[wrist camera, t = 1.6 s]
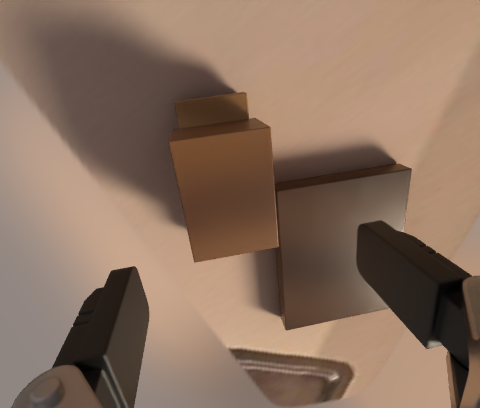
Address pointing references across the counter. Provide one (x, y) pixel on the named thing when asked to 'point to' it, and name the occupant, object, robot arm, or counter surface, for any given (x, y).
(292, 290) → the board
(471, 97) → the counter surface
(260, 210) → the stepped wooden block
